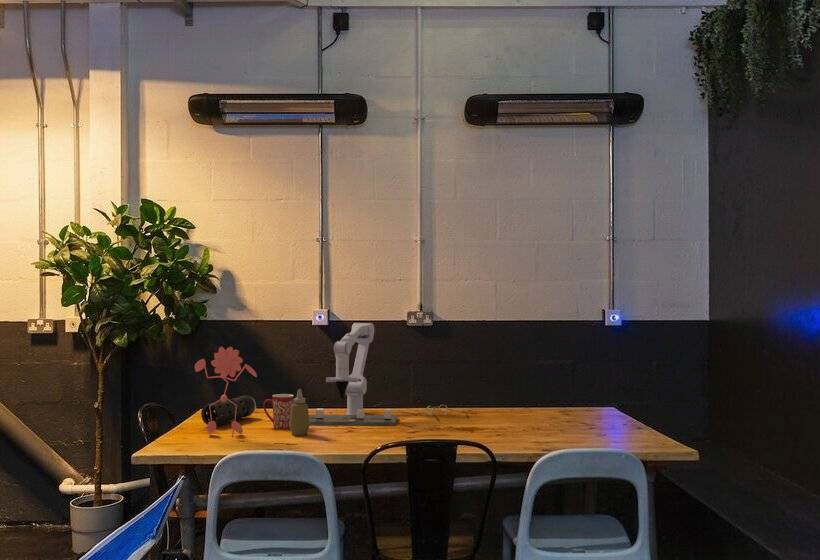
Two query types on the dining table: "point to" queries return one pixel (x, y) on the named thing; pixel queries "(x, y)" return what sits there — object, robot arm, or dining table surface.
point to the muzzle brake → (228, 410)
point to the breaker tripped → (360, 413)
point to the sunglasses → (439, 413)
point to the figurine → (225, 365)
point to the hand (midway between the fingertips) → (342, 398)
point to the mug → (280, 410)
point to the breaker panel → (353, 420)
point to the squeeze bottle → (299, 416)
